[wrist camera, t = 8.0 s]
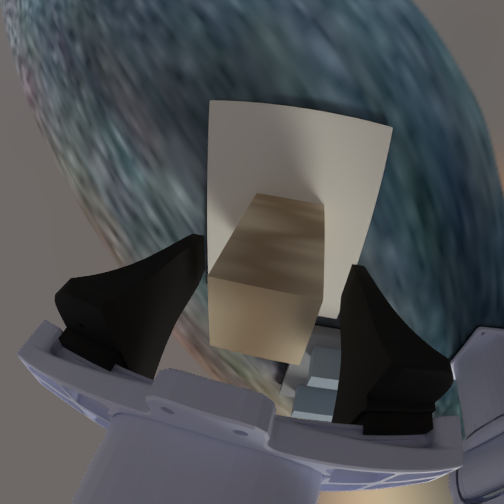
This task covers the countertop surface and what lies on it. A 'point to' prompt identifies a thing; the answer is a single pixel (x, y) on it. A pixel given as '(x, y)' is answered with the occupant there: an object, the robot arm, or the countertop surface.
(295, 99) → the countertop surface
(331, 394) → the vise
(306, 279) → the peg
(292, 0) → the countertop surface
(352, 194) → the mat
